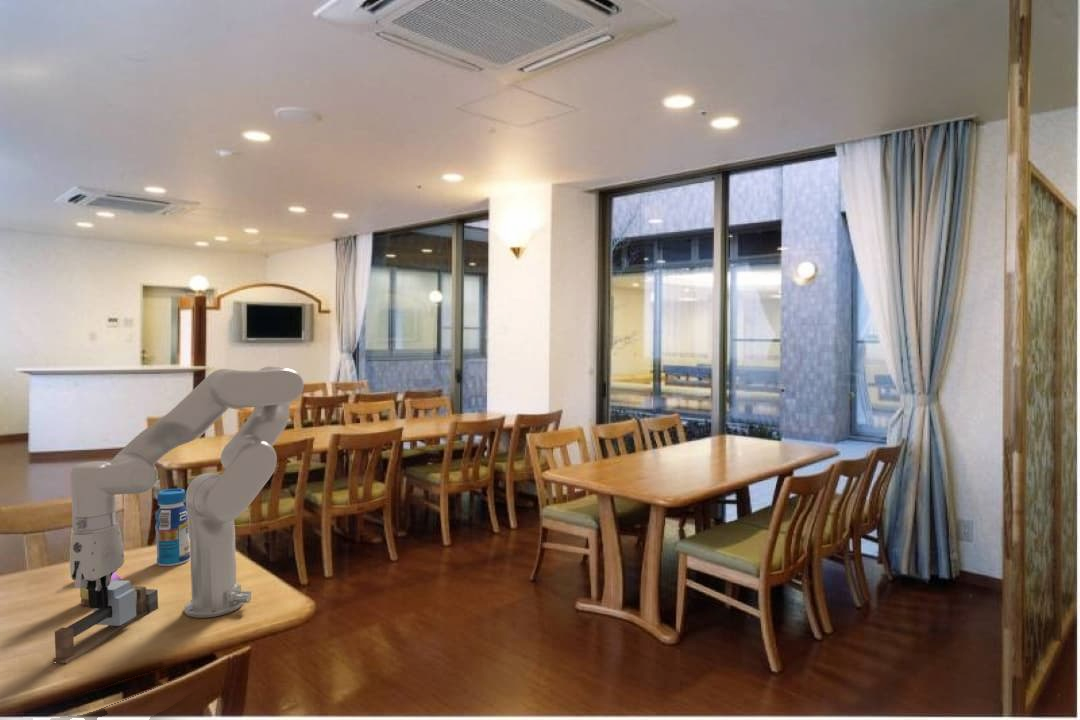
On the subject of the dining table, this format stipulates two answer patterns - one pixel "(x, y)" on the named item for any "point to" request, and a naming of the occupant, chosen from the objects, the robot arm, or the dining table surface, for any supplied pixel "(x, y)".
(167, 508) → the beverage bottle
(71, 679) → the dining table surface
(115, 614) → the notched grey cube
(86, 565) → the robot arm
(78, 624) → the stand
